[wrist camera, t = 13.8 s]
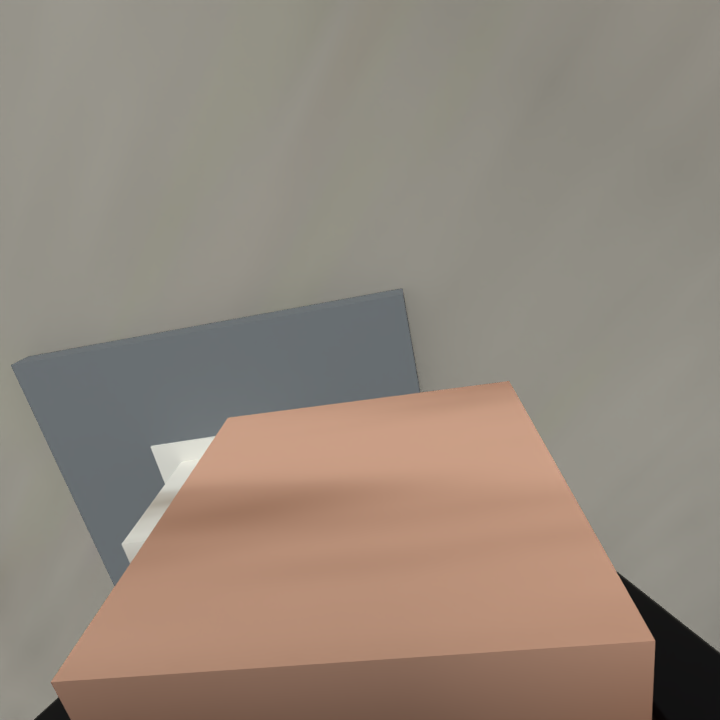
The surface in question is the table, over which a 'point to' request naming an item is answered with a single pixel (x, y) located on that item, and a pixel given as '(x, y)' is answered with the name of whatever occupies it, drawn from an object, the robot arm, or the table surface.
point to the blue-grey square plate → (201, 395)
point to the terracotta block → (369, 579)
